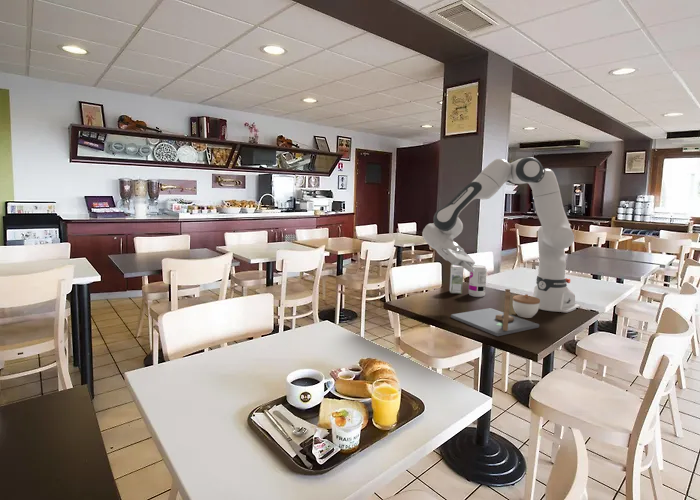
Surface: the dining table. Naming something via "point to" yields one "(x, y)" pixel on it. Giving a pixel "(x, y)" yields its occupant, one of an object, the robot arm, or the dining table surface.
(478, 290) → the supplement can
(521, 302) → the lidded jar
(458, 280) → the syrup box
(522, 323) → the board
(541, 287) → the robot arm
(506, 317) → the tuning key
